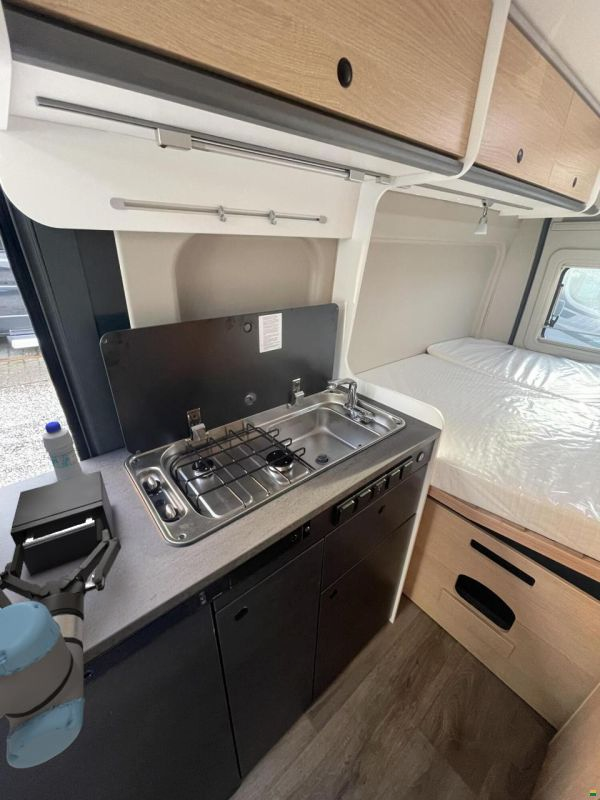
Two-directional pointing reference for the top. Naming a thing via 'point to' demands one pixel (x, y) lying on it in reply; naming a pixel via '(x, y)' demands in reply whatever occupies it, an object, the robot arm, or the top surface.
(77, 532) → the oven door
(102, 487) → the oven
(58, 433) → the bottle
